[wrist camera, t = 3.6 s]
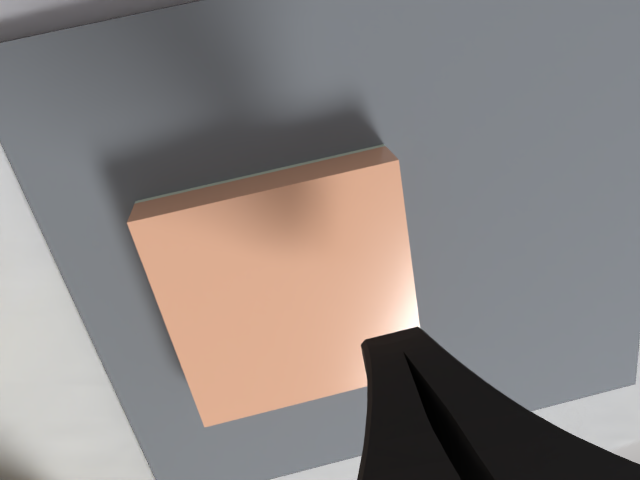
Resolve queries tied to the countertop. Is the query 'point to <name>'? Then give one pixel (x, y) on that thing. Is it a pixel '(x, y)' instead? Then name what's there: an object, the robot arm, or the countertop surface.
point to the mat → (337, 138)
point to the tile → (280, 279)
